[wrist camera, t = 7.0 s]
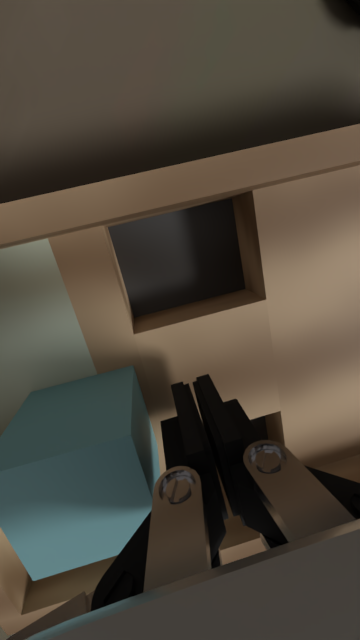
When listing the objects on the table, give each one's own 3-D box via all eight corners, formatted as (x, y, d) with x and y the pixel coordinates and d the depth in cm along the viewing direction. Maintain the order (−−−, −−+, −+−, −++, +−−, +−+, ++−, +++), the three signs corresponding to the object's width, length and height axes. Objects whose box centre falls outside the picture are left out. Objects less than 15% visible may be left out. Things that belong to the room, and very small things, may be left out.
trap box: (-98, 251, 12) (-270, 264, 7) (432, 129, 14) (604, 69, 9) (45, 517, 18) (7, 635, 13) (415, 405, 20) (516, 468, 14)
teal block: (30, 391, 12) (-29, 479, 8) (133, 365, 12) (130, 434, 8) (66, 470, 13) (33, 581, 9) (157, 444, 14) (166, 540, 9)
